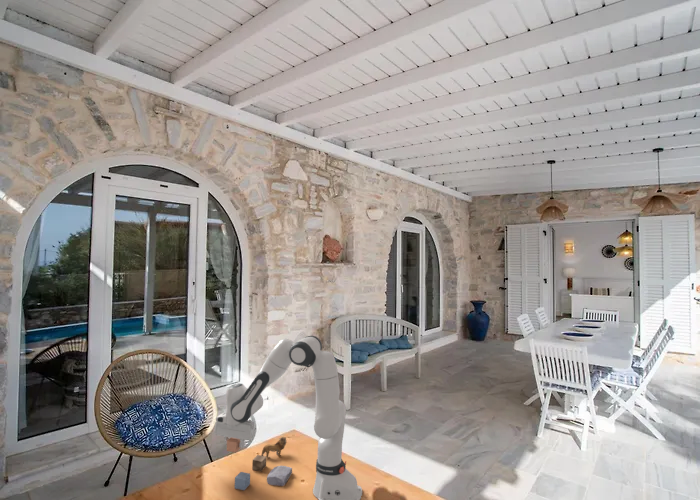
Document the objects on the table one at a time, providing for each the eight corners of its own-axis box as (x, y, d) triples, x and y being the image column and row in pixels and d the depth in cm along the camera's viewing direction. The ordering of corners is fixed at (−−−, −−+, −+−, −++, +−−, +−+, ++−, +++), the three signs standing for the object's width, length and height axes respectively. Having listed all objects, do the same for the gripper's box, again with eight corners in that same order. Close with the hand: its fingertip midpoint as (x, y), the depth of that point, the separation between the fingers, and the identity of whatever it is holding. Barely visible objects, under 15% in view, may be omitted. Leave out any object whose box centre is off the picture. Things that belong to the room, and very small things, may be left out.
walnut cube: (266, 466, 198) (266, 456, 198) (261, 471, 194) (261, 461, 194) (257, 464, 200) (257, 454, 200) (252, 469, 195) (252, 459, 195)
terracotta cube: (241, 447, 193) (241, 437, 193) (235, 452, 188) (236, 442, 188) (232, 446, 195) (232, 436, 195) (226, 451, 190) (226, 440, 190)
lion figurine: (283, 450, 214) (284, 434, 214) (287, 455, 210) (288, 438, 210) (257, 457, 206) (258, 440, 206) (261, 462, 202) (262, 445, 202)
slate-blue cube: (249, 484, 183) (250, 473, 183) (244, 490, 178) (244, 479, 178) (240, 482, 184) (240, 471, 184) (234, 488, 180) (234, 477, 180)
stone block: (265, 488, 183) (285, 487, 182) (263, 477, 184) (283, 476, 182) (275, 475, 195) (293, 473, 193) (273, 465, 195) (292, 463, 194)
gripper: (257, 417, 192) (256, 446, 192) (220, 412, 197) (219, 439, 197) (250, 423, 186) (249, 452, 186) (212, 417, 191) (212, 445, 191)
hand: (234, 445), depth 192 cm, fingers closed on terracotta cube, 5 cm apart
